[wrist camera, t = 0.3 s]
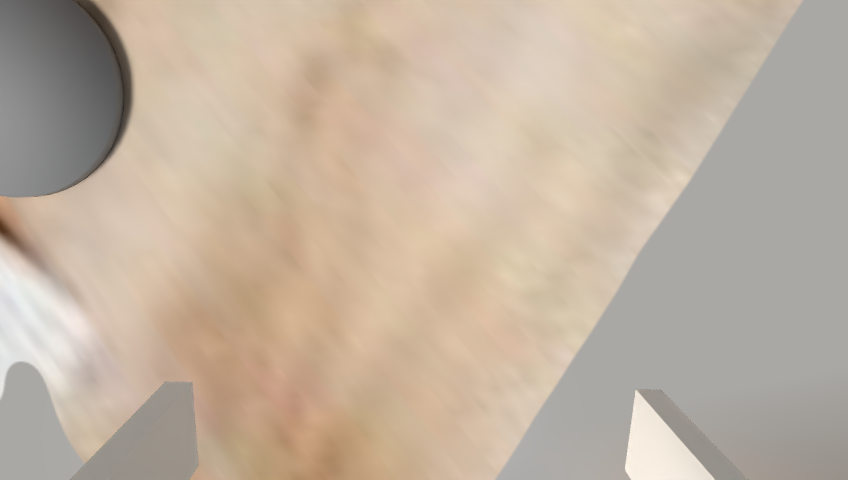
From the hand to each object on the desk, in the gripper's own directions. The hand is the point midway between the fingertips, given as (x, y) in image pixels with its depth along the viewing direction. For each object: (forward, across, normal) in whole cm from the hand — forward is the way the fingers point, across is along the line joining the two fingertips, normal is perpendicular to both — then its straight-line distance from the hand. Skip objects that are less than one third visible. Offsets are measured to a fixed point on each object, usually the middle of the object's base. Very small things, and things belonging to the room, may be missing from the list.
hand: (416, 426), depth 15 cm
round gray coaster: (+29, -32, +11) cm, 44 cm away
